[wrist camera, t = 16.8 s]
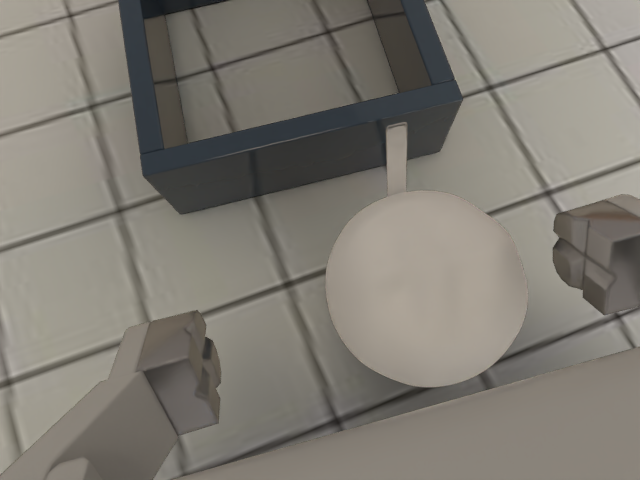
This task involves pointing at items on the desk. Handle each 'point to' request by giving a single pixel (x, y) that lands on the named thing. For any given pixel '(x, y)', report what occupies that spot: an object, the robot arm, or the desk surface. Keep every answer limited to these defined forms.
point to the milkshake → (424, 283)
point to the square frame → (289, 135)
